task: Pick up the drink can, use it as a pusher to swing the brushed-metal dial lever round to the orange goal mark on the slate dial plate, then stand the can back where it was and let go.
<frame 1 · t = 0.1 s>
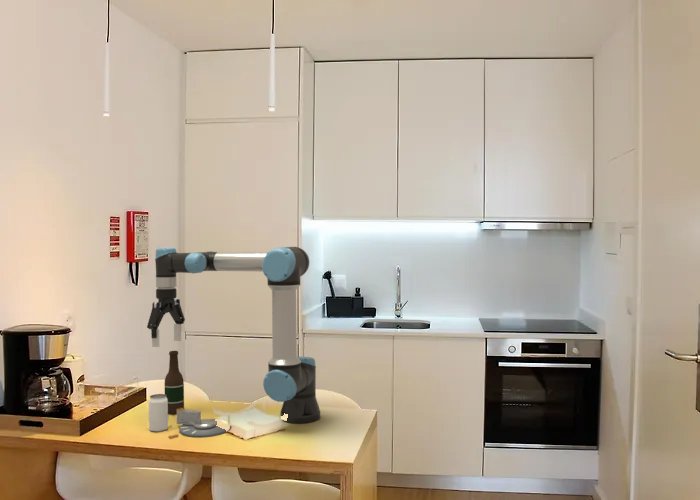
hand: (166, 343, 238), 28 cm above the table, fingers open, 13 cm apart
beer bottle: (174, 412, 244), on the table
dial: (196, 417, 224), point 4 cm above the table, hinge at 0.0°
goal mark: (173, 437, 214), on the table
dial plate: (205, 429, 223), on the table
can: (158, 429, 223), on the table
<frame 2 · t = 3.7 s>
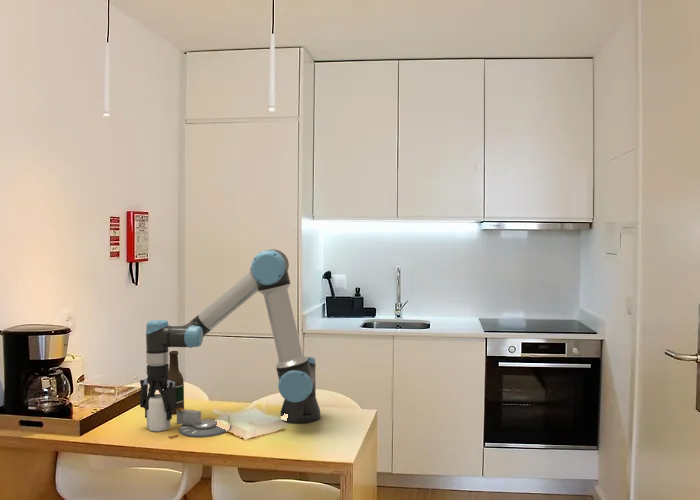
hand: (158, 427, 223), 0 cm above the table, fingers closed on can, 6 cm apart
can: (158, 429, 223), on the table, touching gripper
everything else where it was.
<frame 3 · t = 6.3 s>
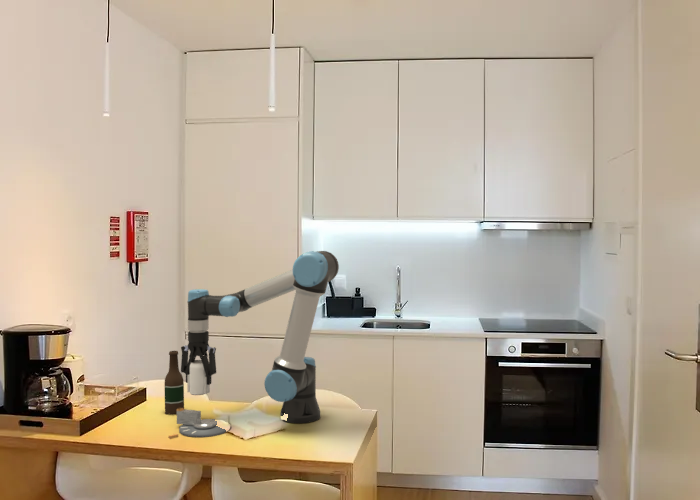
hand: (198, 392, 233), 10 cm above the table, fingers closed on can, 6 cm apart
can: (198, 393, 233), point 10 cm above the table, touching gripper
everything else where it was.
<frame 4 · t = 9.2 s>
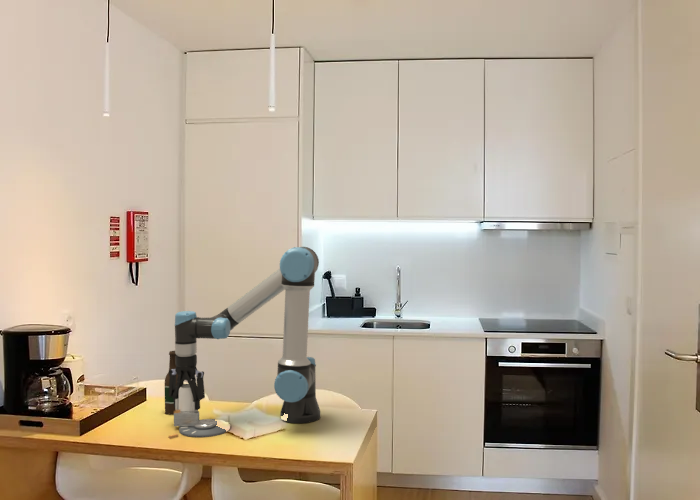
hand: (186, 417, 227), 3 cm above the table, fingers closed on can, 6 cm apart
dial: (195, 418, 223), point 4 cm above the table, hinge at 14.7°, touching gripper
can: (188, 418, 227), point 2 cm above the table, touching gripper
everything else where it was.
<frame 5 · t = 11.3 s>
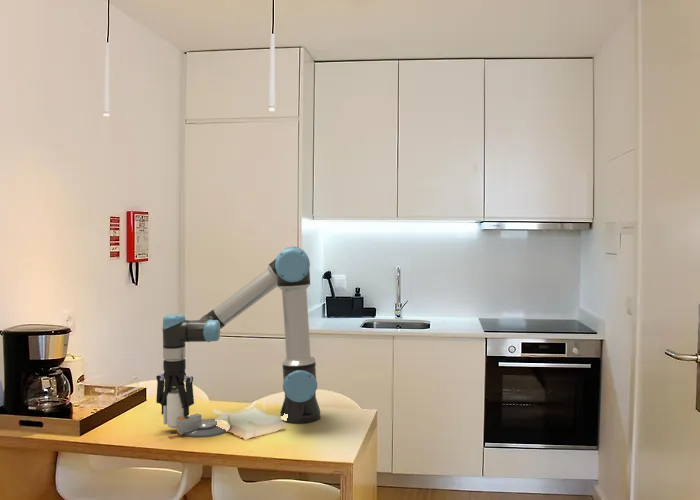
hand: (175, 424, 219), 3 cm above the table, fingers closed on can, 6 cm apart
dial: (197, 420, 220), point 4 cm above the table, hinge at 69.4°, touching gripper
can: (176, 425, 220), point 2 cm above the table, touching gripper
everything else where it was.
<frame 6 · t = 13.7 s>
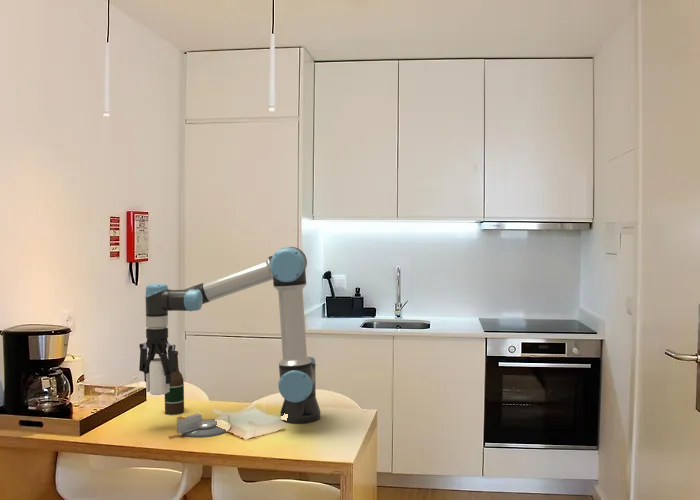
hand: (157, 391, 223), 13 cm above the table, fingers closed on can, 6 cm apart
dial: (197, 420, 220), point 4 cm above the table, hinge at 69.7°
can: (159, 393, 223), point 13 cm above the table, touching gripper
everything else where it was.
when the fingers open (2 cm above the table, at t = 16.0 s): can drops 1 cm, on the table.
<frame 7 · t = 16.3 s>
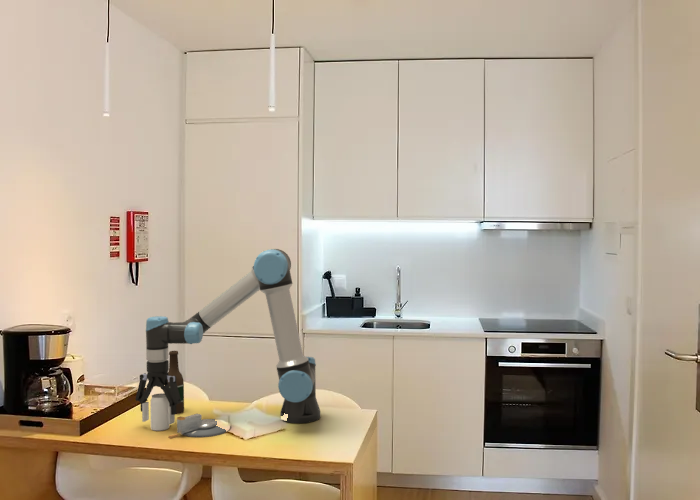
hand: (158, 422, 223), 3 cm above the table, fingers open, 10 cm apart
can: (160, 429, 224), on the table
everything else where it was.
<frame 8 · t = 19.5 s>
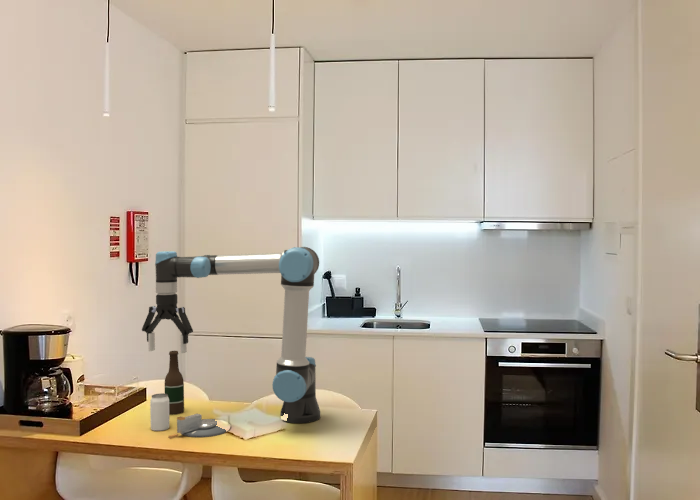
hand: (167, 351, 228), 27 cm above the table, fingers open, 13 cm apart
nothing on the table moved.
at the end: dial at +70° (first picture: +0°); the gripper is holding nothing; can tilted 0° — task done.
